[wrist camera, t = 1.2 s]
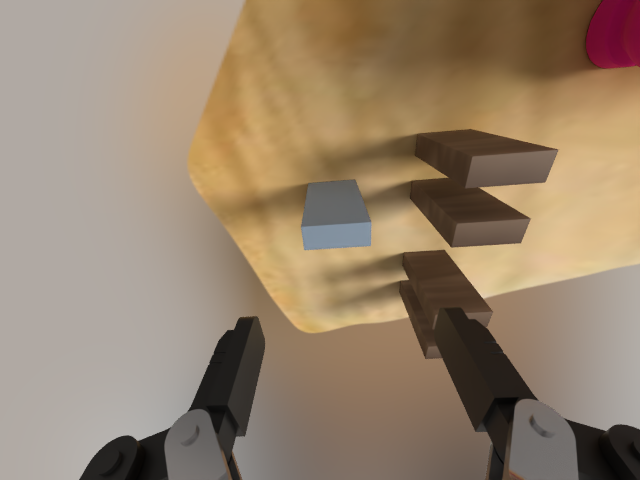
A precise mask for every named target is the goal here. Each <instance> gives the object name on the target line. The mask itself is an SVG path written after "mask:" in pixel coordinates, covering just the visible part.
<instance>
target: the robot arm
mask: <svg viewBox="0 0 640 480" xmlns="http://www.w3.org/2000/svg"><path fill="white" fill-rule="evenodd" d="M434 338H435V342H436V345H437V347H438V350H439V352H440V354H441V356H442V358H443V361H444V363H445V365H446V367H447V369H448V372H449V374H450V376H451V378H452V381H453V383H454V385H455V387H456V389H457V392H458V394H459V396H460V398H461V401H462V403H463V405H464V407H465V409H466V412H467V414H468V416H469V418H470V420H471V422H472V425H473V427H474V429H475V431H476V432H488V434H489V437H490V439H491V441H492V442H491V444H490V450H489V457H488V463H487V470H486V476H485V480H640V430H639V429H637V428H634V427H631V426H628V425H614V426H612V427H611V428H610V429H609V430H607V431H604V430H600V429H597V428H593V427H590V426H587V425H583V424H580V423H576V422H573V421H570V420H567V419H565V418H563V417H562V416H561V415H560V414H559V413H557V412H556V411H555V410H554V409H553V408H551V407H550V406H548V405H546V404H544V403H542V402H540V401H539V400H538V399H537V398H536V397H535V396H534V395H533V393H532V392H531V390H530V389H529V387H528V386H527V385H526V383H525V382H524V381H523V379H522V378H521V376H520V375H519V373H518V372H517V370H516V369H515V368H514V366H513V365H512V363H511V362H510V360H509V359H508V358H507V356H506V355H505V354H504V353H503V350H502V349H501V347H500V346H499V345H498V344H497V343H496V340H495V339H494V337H493V336H492V335H491V333H490V332H489V330H488V329H487V328H486V327H484V326H483V325H482V324H481V323H480V322H478V321H477V320H476V319H469V318H468V317H467V315H466V314H465V312H464V311H463V309H462V308H460V307H442V308H440V309H439V312H438V316H437V320H436V324H435V328H434ZM264 350H265V338H264V335H263V332H262V328H261V325H260V322H259V319H258V317H257V316H253V317H240V318H239V319H238V321H237V324H236V327H235V329H234V330H227V332H226V333H225V334H224V335H223V336H222V337H221V339H220V340H219V341H218V344H217V346H216V348H215V351H214V355H213V356H212V358H211V360H210V364H209V365H208V367H207V370H206V372H205V374H204V377H203V379H202V382H201V384H200V386H199V389H198V391H197V393H196V396H195V398H194V400H193V403H192V405H191V407H190V409H189V410H188V412H187V413H185V414H184V415H182V416H181V417H180V418H179V419H178V420H177V421H176V422H175V423H174V424H173V426H172V427H170V428H169V429H167V430H165V431H162V432H160V433H157V434H155V435H152V436H149V437H147V438H145V439H142V440H140V441H137V440H136V439H135V438H133V437H132V436H121V437H118V438H116V439H114V440H112V441H111V442H109V443H108V444H106V445H105V446H104V447H103V448H102V449H101V450H99V451H98V453H97V454H96V455H95V456H94V457H93V458H92V460H91V461H90V463H89V464H88V466H87V467H86V469H85V471H84V473H83V474H82V476H81V478H80V479H79V480H242V477H241V474H240V471H239V468H238V466H237V462H236V460H235V456H234V453H233V451H232V449H233V445H234V441H235V438H236V436H245V434H246V430H247V426H248V421H249V417H250V412H251V408H252V404H253V399H254V395H255V390H256V386H257V381H258V377H259V373H260V368H261V364H262V360H263V355H264Z"/></svg>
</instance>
